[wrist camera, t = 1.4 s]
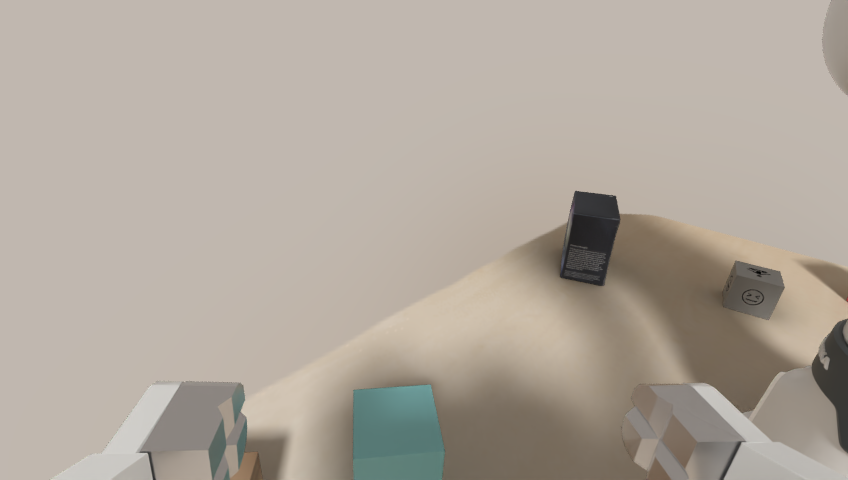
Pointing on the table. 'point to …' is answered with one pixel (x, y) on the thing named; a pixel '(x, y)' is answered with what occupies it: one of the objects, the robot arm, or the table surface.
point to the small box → (589, 237)
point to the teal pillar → (396, 434)
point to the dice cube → (753, 290)
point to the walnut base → (249, 468)
